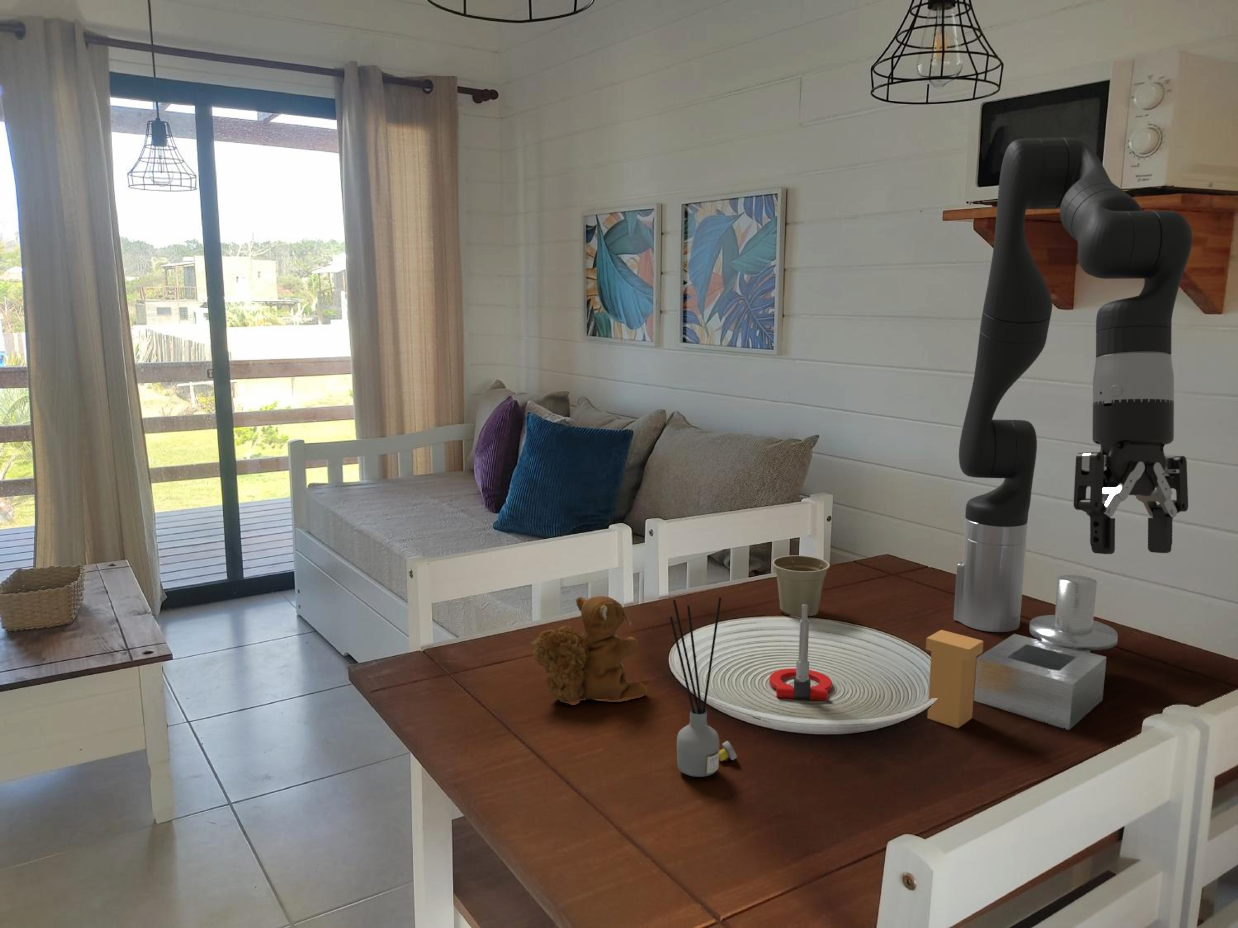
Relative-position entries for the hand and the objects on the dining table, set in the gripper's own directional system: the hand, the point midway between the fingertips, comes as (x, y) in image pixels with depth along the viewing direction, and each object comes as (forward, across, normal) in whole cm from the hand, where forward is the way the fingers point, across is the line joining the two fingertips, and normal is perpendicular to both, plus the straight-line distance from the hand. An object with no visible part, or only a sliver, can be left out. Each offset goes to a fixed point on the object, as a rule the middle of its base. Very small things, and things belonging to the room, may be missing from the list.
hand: (1131, 553), depth 98 cm
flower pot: (+15, -2, -64) cm, 65 cm away
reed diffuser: (+26, +38, -26) cm, 52 cm away
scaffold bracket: (+20, -17, -24) cm, 36 cm away
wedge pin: (+22, +2, -23) cm, 33 cm away
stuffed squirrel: (+22, +42, -49) cm, 68 cm away
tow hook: (+21, +14, -39) cm, 47 cm away
